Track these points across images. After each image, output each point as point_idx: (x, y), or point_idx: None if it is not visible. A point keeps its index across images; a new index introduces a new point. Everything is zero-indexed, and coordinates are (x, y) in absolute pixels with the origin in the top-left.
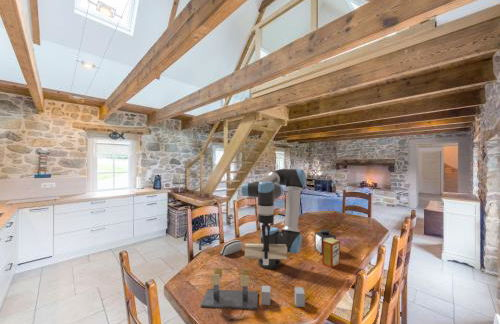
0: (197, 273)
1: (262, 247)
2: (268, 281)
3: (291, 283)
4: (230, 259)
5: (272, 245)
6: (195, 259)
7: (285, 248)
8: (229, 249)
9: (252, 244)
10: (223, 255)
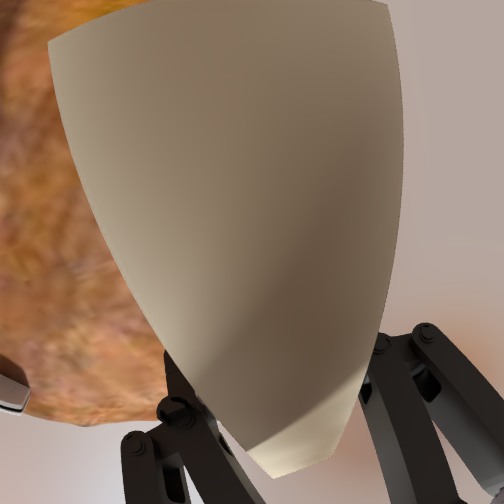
0: (144, 403)
1: (347, 412)
2: (53, 211)
3: (31, 108)
4: (27, 370)
5: (293, 384)
6: (95, 423)
7: (375, 56)
8: (11, 393)
9: (285, 465)
10: (29, 389)
